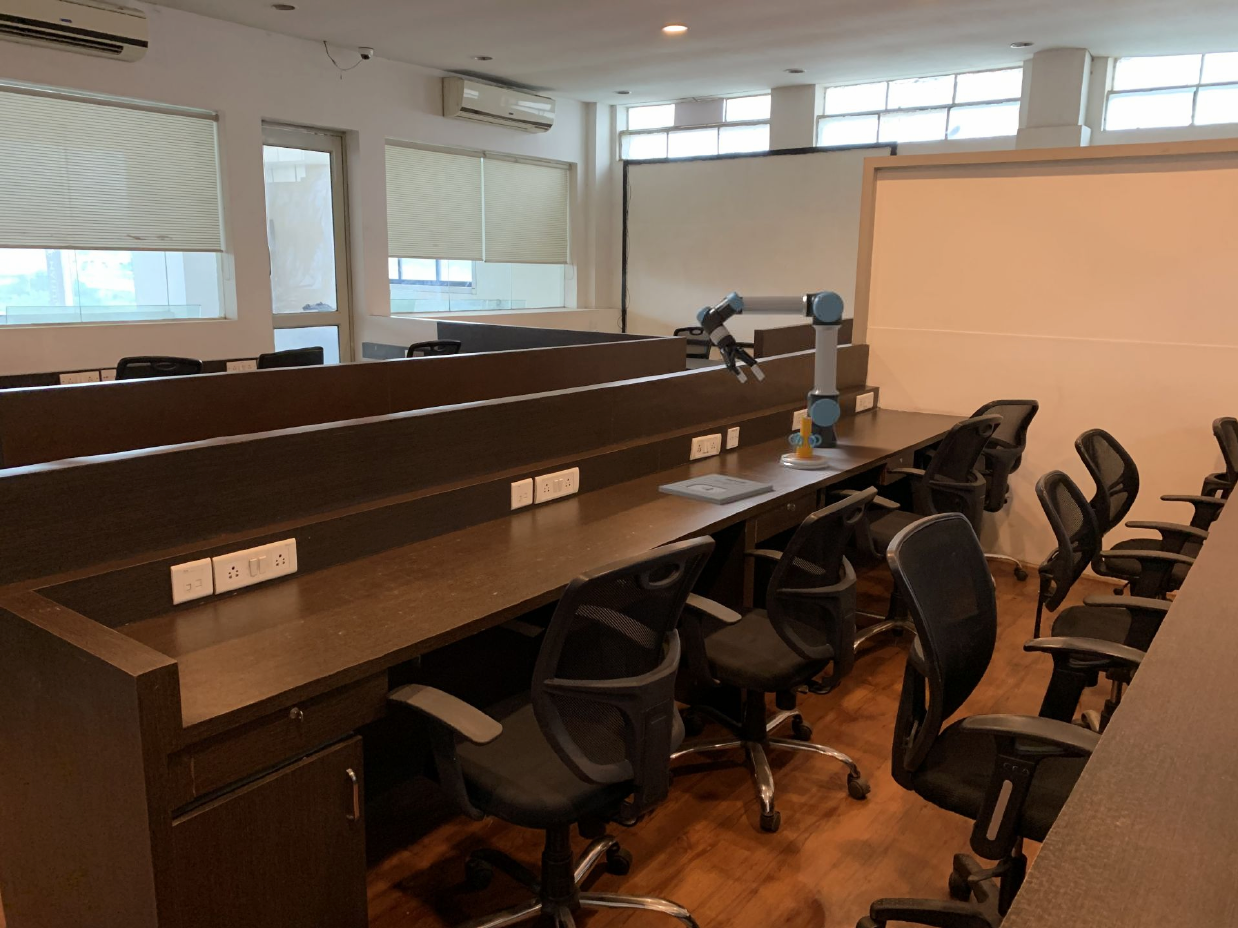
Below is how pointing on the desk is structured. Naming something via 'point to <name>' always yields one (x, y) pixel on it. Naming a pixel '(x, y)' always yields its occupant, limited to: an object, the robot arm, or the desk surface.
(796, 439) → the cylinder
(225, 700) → the desk surface
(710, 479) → the award plaque
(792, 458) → the platter
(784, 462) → the base
